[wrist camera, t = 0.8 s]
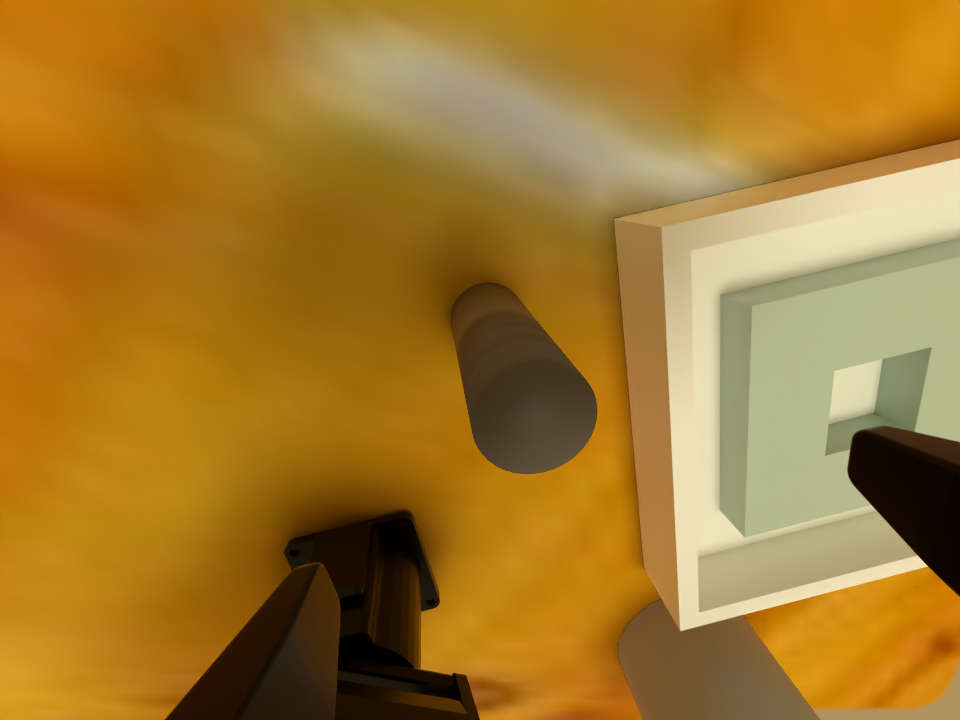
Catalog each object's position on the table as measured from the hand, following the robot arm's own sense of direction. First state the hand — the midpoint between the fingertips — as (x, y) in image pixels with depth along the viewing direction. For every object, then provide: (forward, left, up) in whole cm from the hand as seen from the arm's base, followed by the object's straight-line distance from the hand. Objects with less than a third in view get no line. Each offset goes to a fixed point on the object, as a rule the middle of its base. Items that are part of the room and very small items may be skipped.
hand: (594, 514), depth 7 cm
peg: (0, 0, -13) cm, 13 cm away
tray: (-7, -16, -13) cm, 22 cm away
